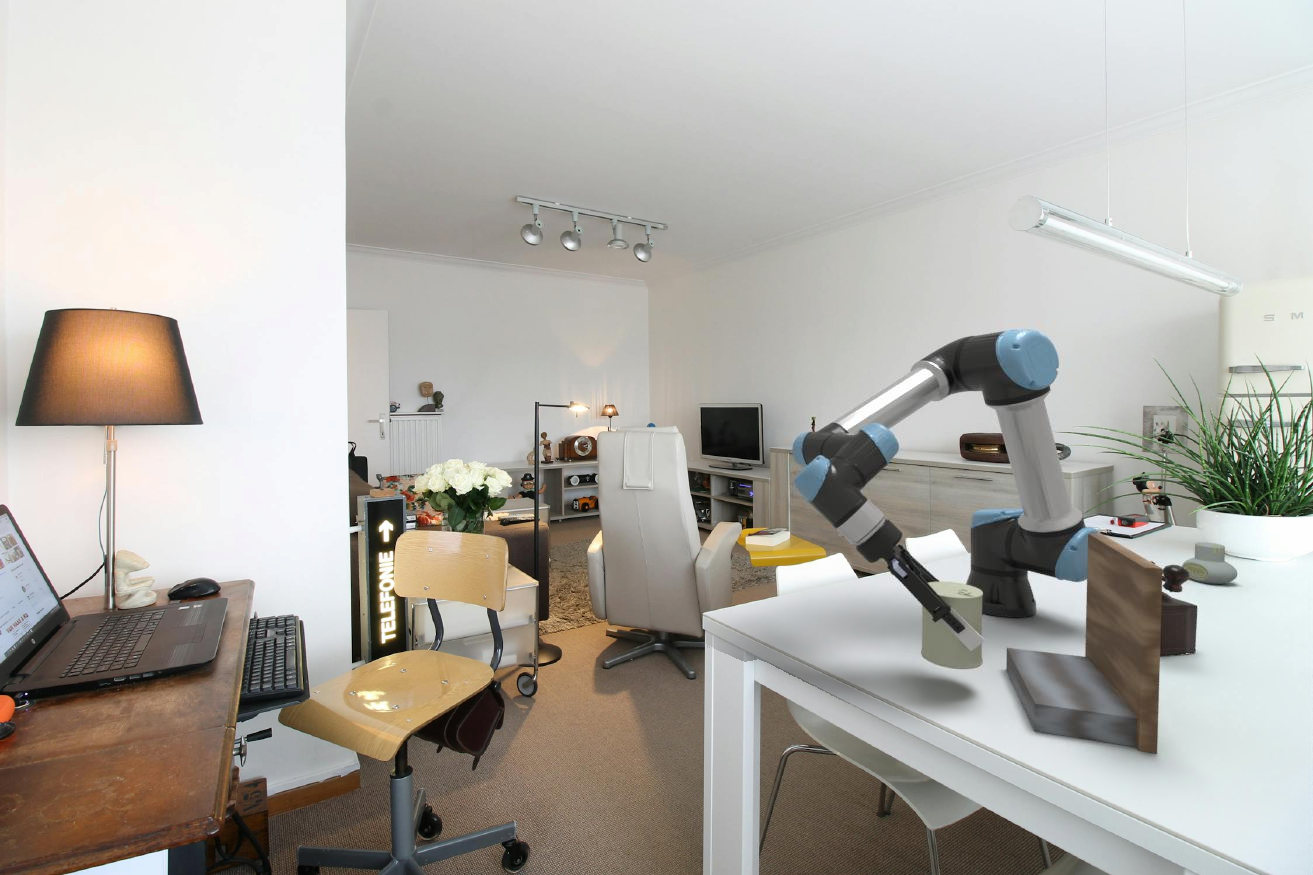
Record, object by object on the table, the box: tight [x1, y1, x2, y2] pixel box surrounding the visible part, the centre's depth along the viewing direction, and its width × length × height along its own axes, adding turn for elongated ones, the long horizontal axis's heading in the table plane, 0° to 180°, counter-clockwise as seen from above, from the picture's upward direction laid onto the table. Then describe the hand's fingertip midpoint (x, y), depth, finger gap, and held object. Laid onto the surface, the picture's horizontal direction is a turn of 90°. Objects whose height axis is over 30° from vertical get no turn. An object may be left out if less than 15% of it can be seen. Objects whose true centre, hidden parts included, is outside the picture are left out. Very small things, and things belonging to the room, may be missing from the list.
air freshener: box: [1181, 541, 1238, 585], centre depth 162 cm, size 11×8×10 cm
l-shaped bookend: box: [1006, 533, 1164, 754], centre depth 95 cm, size 14×24×25 cm, turn 159°
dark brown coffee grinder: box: [1149, 560, 1198, 657], centre depth 116 cm, size 16×11×18 cm
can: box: [920, 581, 984, 670], centre depth 100 cm, size 9×9×12 cm
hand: (973, 634), depth 99 cm, fingers closed on can, 9 cm apart
